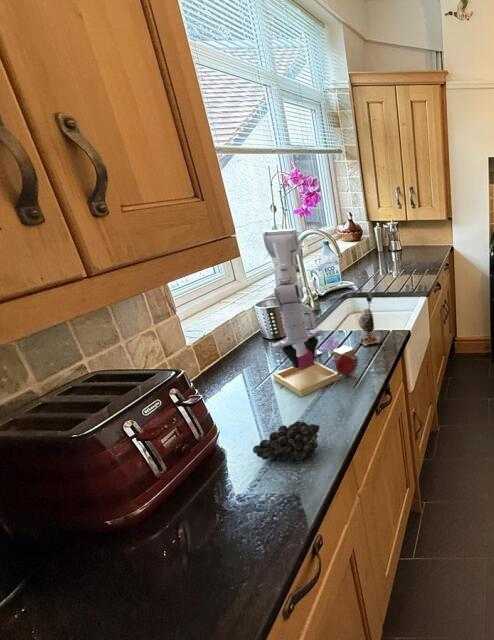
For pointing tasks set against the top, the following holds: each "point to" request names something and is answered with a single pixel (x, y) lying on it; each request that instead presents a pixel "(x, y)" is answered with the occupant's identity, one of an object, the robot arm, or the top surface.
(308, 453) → the fruit
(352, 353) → the ash block
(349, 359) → the onion
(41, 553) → the top surface
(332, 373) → the tray
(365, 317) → the grey figurine
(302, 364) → the mulberry block
